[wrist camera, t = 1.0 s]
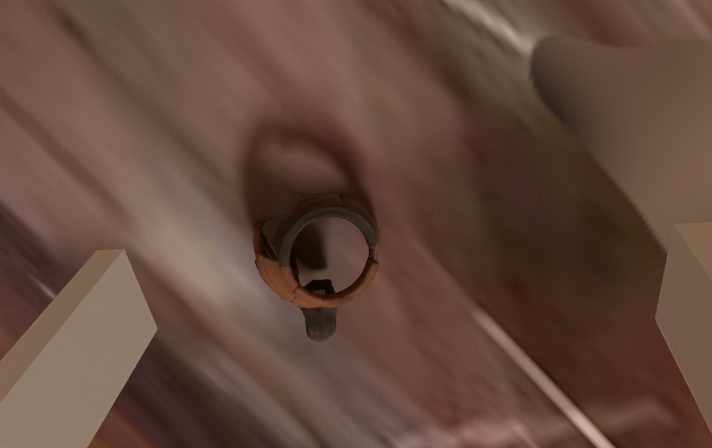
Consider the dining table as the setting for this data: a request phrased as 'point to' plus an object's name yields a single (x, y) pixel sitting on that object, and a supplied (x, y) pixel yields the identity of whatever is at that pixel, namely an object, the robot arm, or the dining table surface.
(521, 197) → the dining table surface
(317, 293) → the pottery mug
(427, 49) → the dining table surface
